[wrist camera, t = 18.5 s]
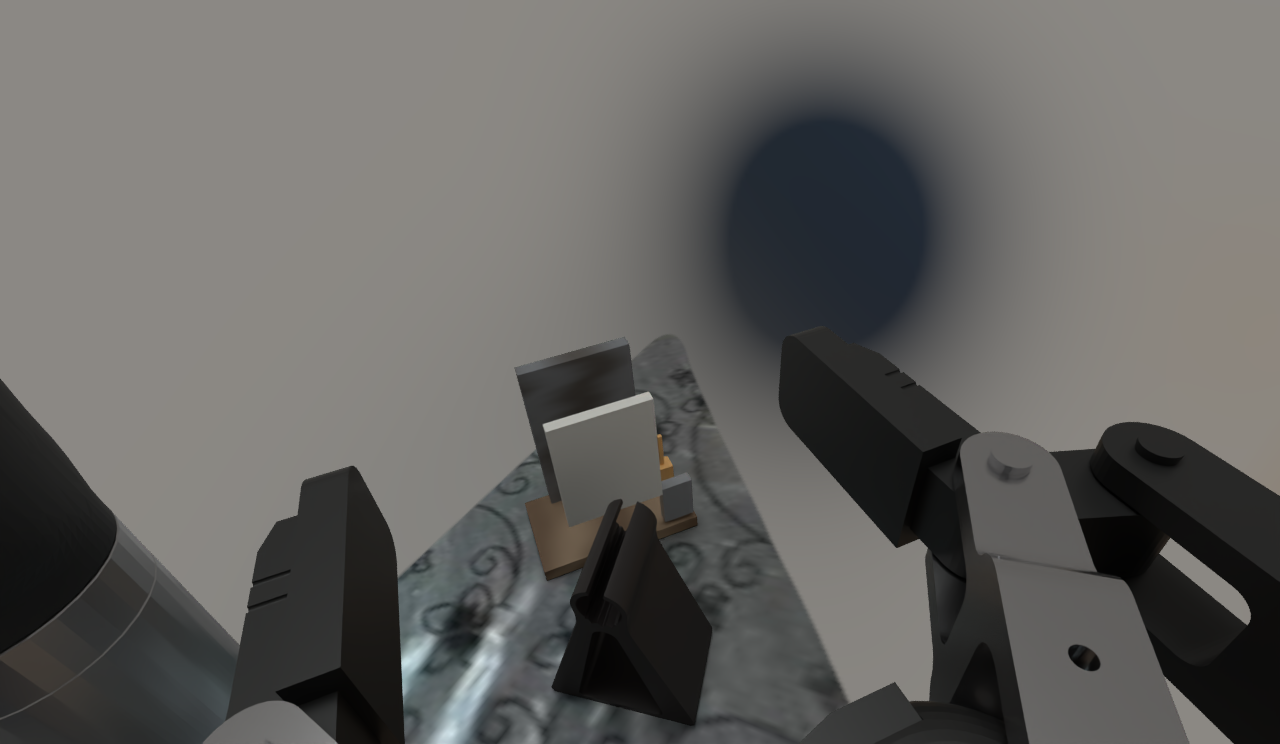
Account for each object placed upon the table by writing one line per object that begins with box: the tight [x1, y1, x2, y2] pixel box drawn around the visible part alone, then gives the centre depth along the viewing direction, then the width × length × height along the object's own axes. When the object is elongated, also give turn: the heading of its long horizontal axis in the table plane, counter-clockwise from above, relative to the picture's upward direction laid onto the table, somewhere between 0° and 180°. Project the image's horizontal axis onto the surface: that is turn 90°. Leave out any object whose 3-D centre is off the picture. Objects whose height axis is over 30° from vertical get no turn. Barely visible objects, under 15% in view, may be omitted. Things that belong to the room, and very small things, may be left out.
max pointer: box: [657, 434, 674, 481], centre depth 47 cm, size 1×1×5 cm
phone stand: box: [552, 499, 712, 725], centre depth 34 cm, size 9×6×12 cm, turn 74°
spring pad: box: [543, 392, 693, 527], centre depth 41 cm, size 9×1×12 cm, turn 110°
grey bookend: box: [515, 337, 697, 580], centre depth 43 cm, size 12×7×14 cm, turn 110°
